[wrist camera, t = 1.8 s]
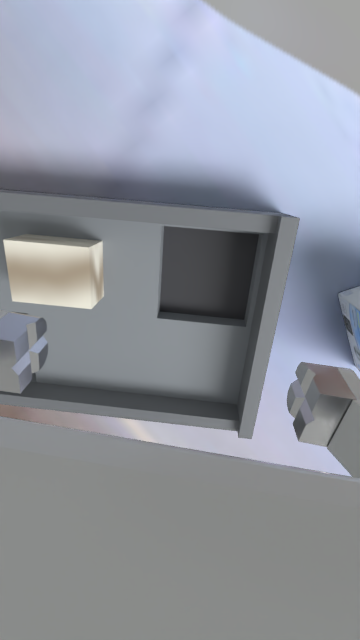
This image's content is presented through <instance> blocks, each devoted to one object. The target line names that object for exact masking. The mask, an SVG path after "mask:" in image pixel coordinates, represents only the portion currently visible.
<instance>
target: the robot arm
mask: <svg viewBox="0 0 360 640" xmlns="http://www.w3.org/2000/svg"><path fill="white" fill-rule="evenodd" d="M46 331H47V324H46V320H45V319H44V318H42V317H37V316H31V315H26V314H21V313H15V312H11V311H5V310H0V391H6V392H13V393H20V394H21V392H22V391H23V390H24V389H25V387H26V386H27V385H28V384H29V383H30V381H31V380H32V373H35V372H37V371H39V370H40V369H41V368H42V367H43V365H44V363H45V361H46V358H47V355H48V342H47V341H46V339H45V338H44V337H43V335H44V334H45V332H46ZM295 373H296V376H297V378H298V379H297V380H296V381H294V382H293V383H291V385H290V388H289V390H288V396H287V407H288V410H289V413H290V414H291V415H292V416H293V417H294V418H295V420H294V422H293V426H294V429H295V432H296V435H297V438H298V441H299V442H304V443H309V444H314V445H319V446H325V447H327V449H328V450H329V451H330V452H331V453H332V454H333V456H334V457H335V458H336V459H337V460H338V461H339V462H340V463H341V464H342V466H343V467H344V468H345V469H346V470H347V471H348V472H349V473H350V474H351V476H352V477H350V476H344V475H338V474H332V473H327V472H321V471H315V470H309V469H303V468H297V467H292V466H286V465H280V464H274V463H268V462H263V461H257V460H251V459H245V458H239V457H234V456H228V455H222V454H216V453H210V452H204V451H199V450H193V449H187V448H181V447H175V446H170V445H164V444H158V443H152V442H146V441H141V440H135V439H129V438H123V437H117V436H112V435H106V434H100V433H94V432H88V431H83V430H77V429H71V428H65V427H59V426H54V425H48V424H42V423H36V422H30V421H25V420H19V419H13V418H7V417H1V416H0V640H360V379H359V378H358V377H357V375H356V374H355V372H354V371H353V370H351V369H348V368H340V367H333V366H326V365H319V364H312V363H305V362H301V363H300V364H299V366H298V367H297V370H296V372H295Z"/></svg>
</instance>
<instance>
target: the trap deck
mask: <svg viewBox="0 0 360 640" xmlns="http://www.w3.org/2000/svg"><path fill="white" fill-rule="evenodd" d="M299 220H300V218H297V217H294V216H290V215H287V214H284V213H277V212H265V211H253V210H241V209H229V208H217V207H205V206H193V205H182V204H170V203H158V202H146V201H134V200H122V199H110V198H99V197H87V196H75V195H63V194H51V193H39V192H27V191H15V190H4V189H0V310H5V311H11V312H15V313H21V314H26V315H31V316H37V317H42V318H44V319H45V320H46V324H47V331H46V332H45V334H44V335H43V337H44V338H45V339H46V341H47V342H48V355H47V358H46V361H45V363H44V365H43V367H42V368H41V369H40V370H39V371H37V372H35V373H32V380H31V381H30V383H29V384H28V385H27V386H26V387H25V389H24V390H23V391H22V392H21V394H20V393H13V392H6V391H0V404H4V405H12V406H21V407H30V408H39V409H47V410H56V411H65V412H74V413H83V414H91V415H100V416H109V417H118V418H126V419H135V420H144V421H153V422H161V423H170V424H179V425H188V426H196V427H205V428H214V429H223V430H231V431H238V438H247V439H252V435H253V430H254V426H255V421H256V417H257V412H258V407H259V403H260V398H261V394H262V389H263V385H264V380H265V375H266V371H267V366H268V362H269V357H270V353H271V348H272V343H273V339H274V334H275V330H276V325H277V321H278V316H279V312H280V307H281V302H282V298H283V293H284V289H285V284H286V280H287V275H288V270H289V266H290V261H291V257H292V252H293V248H294V243H295V238H296V234H297V229H298V225H299ZM24 234H32V235H43V236H54V237H65V238H77V239H88V240H99V241H103V281H104V297H103V298H102V299H101V300H100V301H99V302H98V303H97V304H96V305H95V306H94V307H93V308H92V309H85V308H75V307H64V306H54V305H44V304H34V303H24V302H14V301H12V296H11V289H10V282H9V276H8V269H7V262H6V255H5V249H4V242H3V240H4V239H8V238H12V237H16V236H20V235H24Z"/></svg>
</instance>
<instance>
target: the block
mask: <svg viewBox="0 0 360 640" xmlns="http://www.w3.org/2000/svg"><path fill="white" fill-rule="evenodd" d="M3 242H4V249H5V255H6V262H7V269H8V276H9V282H10V289H11V296H12V301H14V302H24V303H34V304H44V305H54V306H64V307H75V308H85V309H92V308H93V307H94V306H95V305H96V304H97V303H98V302H99V301H100V300H101V299H102V298H103V297H104V281H103V241H99V240H88V239H77V238H65V237H54V236H43V235H32V234H24V235H20V236H16V237H12V238H8V239H4V240H3Z"/></svg>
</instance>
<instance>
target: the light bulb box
mask: <svg viewBox="0 0 360 640" xmlns="http://www.w3.org/2000/svg"><path fill="white" fill-rule="evenodd" d="M338 297H339V302H340V306H341V310H342V314H343V318H344V322H345V326H346V330H347V335H348V339H349V343H350V347H351V351H352V356H353V359H354V364H355V366H356V368H357V369H358V370H359V371H360V286H358V287H355V288H352V289H349V290H346V291H343V292H341V293H339V294H338Z"/></svg>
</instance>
